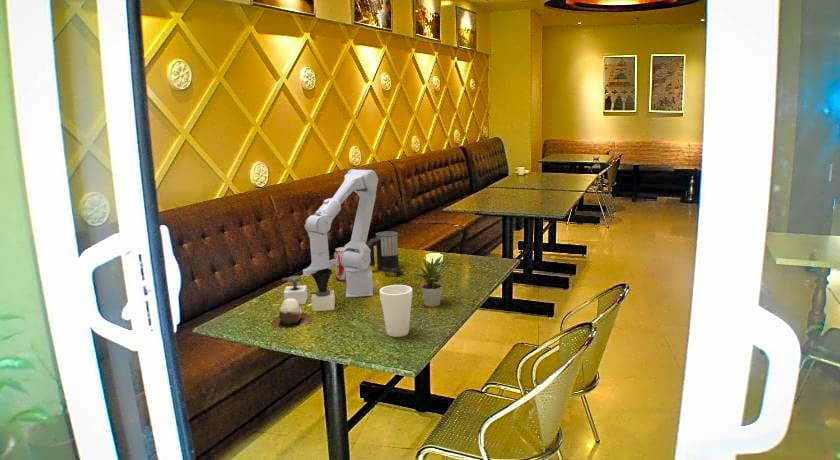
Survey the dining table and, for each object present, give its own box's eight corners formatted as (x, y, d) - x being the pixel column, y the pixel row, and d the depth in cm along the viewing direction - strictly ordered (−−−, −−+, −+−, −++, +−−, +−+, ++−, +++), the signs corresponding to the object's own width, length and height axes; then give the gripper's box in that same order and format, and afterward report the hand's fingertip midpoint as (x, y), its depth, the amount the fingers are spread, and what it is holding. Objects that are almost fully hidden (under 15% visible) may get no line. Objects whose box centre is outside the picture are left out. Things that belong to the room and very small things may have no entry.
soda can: (350, 281, 217) (348, 251, 215) (333, 281, 219) (331, 250, 216) (356, 276, 224) (354, 246, 221) (339, 275, 225) (337, 246, 223)
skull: (273, 312, 183) (293, 288, 182) (298, 332, 185) (318, 308, 183) (264, 325, 171) (285, 299, 170) (291, 345, 173) (312, 320, 172)
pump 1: (302, 287, 198) (301, 275, 197) (301, 291, 194) (300, 279, 193) (284, 289, 197) (282, 276, 197) (282, 293, 193) (281, 280, 192)
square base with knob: (307, 297, 200) (306, 285, 199) (305, 304, 193) (304, 291, 192) (287, 298, 199) (286, 286, 199) (284, 305, 193) (283, 292, 192)
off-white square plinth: (335, 302, 193) (334, 290, 192) (334, 309, 186) (333, 296, 185) (314, 304, 193) (313, 291, 192) (312, 311, 186) (311, 298, 185)
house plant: (422, 293, 199) (421, 248, 196) (459, 298, 193) (458, 251, 190) (404, 307, 187) (401, 258, 183) (442, 312, 180) (441, 262, 177)
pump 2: (331, 301, 192) (330, 288, 191) (330, 306, 187) (329, 292, 186) (311, 302, 191) (310, 290, 190) (310, 307, 187) (309, 294, 186)
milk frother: (387, 264, 240) (385, 230, 237) (417, 269, 230) (415, 233, 227) (364, 272, 228) (362, 236, 225) (395, 278, 219) (393, 240, 216)
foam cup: (381, 327, 169) (379, 285, 167) (412, 325, 170) (410, 283, 168) (382, 340, 160) (379, 296, 158) (414, 337, 161) (413, 293, 158)
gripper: (325, 245, 194) (328, 283, 196) (294, 255, 182) (298, 295, 185) (341, 247, 190) (344, 286, 193) (310, 257, 178) (314, 299, 181)
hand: (322, 291), depth 188 cm, fingers closed, pressing on pump 2
